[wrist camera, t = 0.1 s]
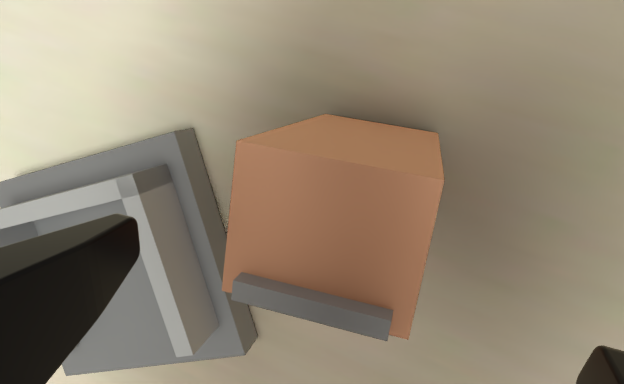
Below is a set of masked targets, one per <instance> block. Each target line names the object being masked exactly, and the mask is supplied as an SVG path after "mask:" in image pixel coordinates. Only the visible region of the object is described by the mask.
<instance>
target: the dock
mask: <svg viewBox="0 0 624 384" xmlns="http://www.w3.org/2000/svg"><path fill="white" fill-rule="evenodd" d="M0 207H1V208H0V247H3V246H7V245H10V244H13V243H17V242H20V241H24V240H27V239H30V238H34V237H37V236H41V235H44V234H47V233H51V232H54V231H58V230H61V229H64V228H68V227H71V226H75V225H78V224H81V223H85V222H88V221H91V220H95V219H98V218H102V217H105V216H108V215H112V214H116V213H119V214H123V215H127V216H131V217H133V218H135V219H136V221H137V223H138V231H139V241H140V254H139V257H138V259H137V261H136V263H135V264H134V266H133V267H132V269H131V270H130V272H129V273H128V275H127V276H126V278H125V280H124V281H123V283H122V284H121V286H120V287H119V289H118V290H117V292H116V293H115V295H114V296H113V298H112V299H111V301H110V302H109V304H108V305H107V307H106V308H105V310H104V311H103V313H102V314H101V316H100V317H99V318H98V320H97V321H96V322H95V323H94V325H93V326H92V327H91V329H90V330H89V331H88V332H87V334H86V335H85V336H84V337H83V338H82V340H81V341H80V342H79V343H78V345H77V346H76V347H75V348H74V349H73V351H72V352H71V353H70V354H69V356H68V357H67V358H66V359H65V360H64V362H63V363H62V366H63V369H64V371H65V374H66V376H70V375H79V374H87V373H96V372H105V371H113V370H122V369H131V368H139V367H148V366H157V365H165V364H174V363H183V362H191V361H200V360H209V359H217V358H226V357H235V356H243V355H246V353H247V352H248V350H249V349H250V347H251V346H252V344H253V343H254V341H255V340H256V339H257V337H258V336H257V333H256V330H255V326H254V323H253V320H252V317H251V314H250V310H249V307H248V304H245V303H241V302H237V301H234V300H231V295H232V293H229V292H225V291H222V282H223V272H224V262H225V252H226V242H227V236H226V233H225V230H224V227H223V223H222V220H221V217H220V214H219V211H218V207H217V204H216V201H215V198H214V194H213V191H212V188H211V185H210V182H209V178H208V175H207V172H206V169H205V165H204V162H203V159H202V156H201V153H200V149H199V146H198V143H197V140H196V136H195V133H194V130H193V128H190V129H185V130H179V131H174V132H171V133H167V134H164V135H160V136H157V137H153V138H150V139H147V140H143V141H140V142H136V143H133V144H129V145H126V146H122V147H119V148H115V149H112V150H109V151H105V152H102V153H98V154H95V155H91V156H88V157H84V158H81V159H78V160H74V161H71V162H67V163H64V164H60V165H57V166H53V167H50V168H46V169H43V170H40V171H36V172H33V173H29V174H26V175H22V176H19V177H15V178H12V179H8V180H5V181H2V182H0Z"/></svg>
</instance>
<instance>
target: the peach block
mask: <svg viewBox="0 0 624 384" xmlns="http://www.w3.org/2000/svg"><path fill="white" fill-rule="evenodd" d="M443 185H444V172H443V165H442V158H441V150H440V143H439V136H438V133H435V132H429V131H423V130H417V129H411V128H405V127H399V126H394V125H388V124H382V123H376V122H370V121H364V120H358V119H352V118H347V117H341V116H335V115H329V114H323V115H320V116H317V117H313V118H310V119H307V120H303V121H300V122H297V123H294V124H290V125H287V126H284V127H280V128H277V129H274V130H270V131H267V132H264V133H260V134H257V135H254V136H250V137H247V138H244V139H240V140H237V141H236V151H235V161H234V171H233V181H232V191H231V201H230V212H229V222H228V232H227V242H226V252H225V262H224V272H223V282H222V291H225V292H229V293H232V295H231V300H234V301H237V302H241V303H245V304H249V305H252V306H256V307H260V308H264V309H267V310H271V311H275V312H279V313H282V314H286V315H290V316H294V317H297V318H301V319H305V320H309V321H313V322H316V323H320V324H324V325H328V326H331V327H335V328H339V329H343V330H346V331H350V332H354V333H358V334H361V335H365V336H369V337H373V338H376V339H380V340H384V341H387V340H388V335H392V336H396V337H400V338H404V339H407V340H408V339H409V335H410V330H411V326H412V321H413V317H414V313H415V308H416V304H417V299H418V295H419V291H420V286H421V282H422V277H423V273H424V269H425V264H426V260H427V255H428V251H429V246H430V242H431V238H432V233H433V229H434V224H435V220H436V216H437V211H438V207H439V202H440V198H441V194H442V189H443Z"/></svg>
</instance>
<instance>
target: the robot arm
mask: <svg viewBox="0 0 624 384" xmlns="http://www.w3.org/2000/svg"><path fill="white" fill-rule="evenodd" d="M139 254H140V241H139V231H138V223H137V221H136V219H135V218H133V217H131V216H127V215H123V214H119V213H116V214H112V215H108V216H105V217H102V218H98V219H95V220H91V221H88V222H85V223H81V224H78V225H75V226H71V227H68V228H64V229H61V230H58V231H54V232H51V233H47V234H44V235H41V236H37V237H34V238H30V239H27V240H24V241H20V242H17V243H13V244H10V245H7V246H3V247H0V384H46V383H47V381H48V380H49V379H50V378H51V376H52V375H53V374H54V373H55V372H56V370H57V369H58V368H59V367H60V365H61V364H62V363H63V362H64V360H65V359H66V358H67V357H68V356H69V354H70V353H71V352H72V351H73V349H74V348H75V347H76V346H77V345H78V343H79V342H80V341H81V340H82V338H83V337H84V336H85V335H86V334H87V332H88V331H89V330H90V329H91V327H92V326H93V325H94V323H95V322H96V321H97V320H98V318H99V317H100V316H101V314H102V313H103V311H104V310H105V308H106V307H107V305H108V304H109V302H110V301H111V299H112V298H113V296H114V295H115V293H116V292H117V290H118V289H119V287H120V286H121V284H122V283H123V281H124V280H125V278H126V276H127V275H128V273H129V272H130V270H131V269H132V267H133V266H134V264H135V263H136V261H137V259H138V257H139ZM576 384H624V351H621V350H618V349H614V348H610V347H607V346H598V347H596V348H595V349H594V350H593V352H592V354H591V355H590V357H589V359H588V360H587V362H586V364H585V365H584V367H583V369H582V370H581V372H580V374H579V375H578V378H577V382H576Z"/></svg>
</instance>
